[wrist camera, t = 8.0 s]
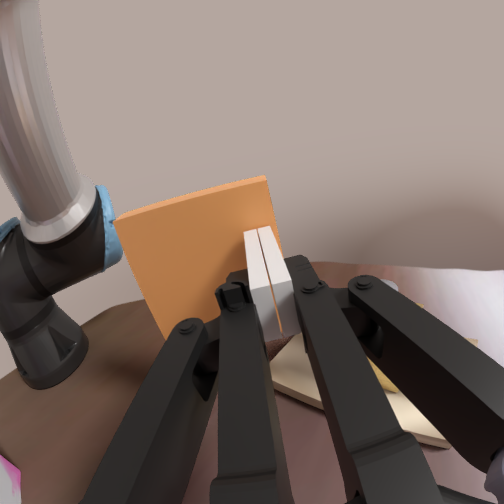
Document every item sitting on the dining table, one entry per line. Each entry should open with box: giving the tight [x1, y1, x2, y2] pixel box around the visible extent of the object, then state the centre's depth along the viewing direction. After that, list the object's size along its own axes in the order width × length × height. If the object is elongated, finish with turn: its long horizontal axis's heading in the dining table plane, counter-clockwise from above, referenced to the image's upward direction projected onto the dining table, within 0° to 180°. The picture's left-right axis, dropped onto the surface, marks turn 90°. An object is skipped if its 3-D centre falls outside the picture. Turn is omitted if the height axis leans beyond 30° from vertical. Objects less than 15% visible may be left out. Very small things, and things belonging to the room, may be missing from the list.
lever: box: [113, 175, 398, 340], centre depth 18 cm, size 18×3×11 cm, turn 90°
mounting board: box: [269, 331, 478, 449], centre depth 23 cm, size 12×20×2 cm, turn 49°
